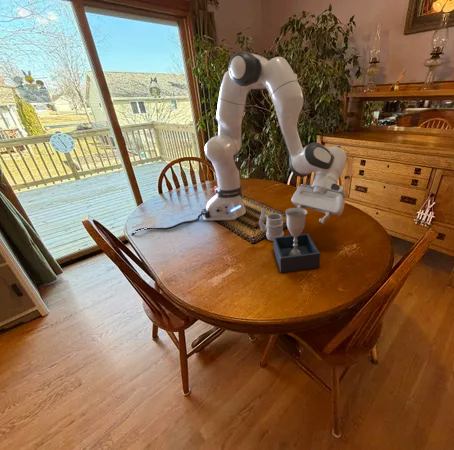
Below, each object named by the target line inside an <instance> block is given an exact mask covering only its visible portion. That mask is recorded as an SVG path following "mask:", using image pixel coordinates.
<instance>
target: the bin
mask: <svg viewBox="0 0 454 450" xmlns="http://www.w3.org/2000/svg"><path fill="white" fill-rule="evenodd" d="M293 240H294V237H293V236H292V235H291V234H290V235H284V236H282V237H273V241H272V242H273V253H274V255H275V259H276V262H277V266H278V269H279V271H280V273H289V272H296V271H303V270H310V269H319V268H320V259H321V252H320V250H319V249H318V247H317V246H316V244H315V242H314V241H313V239H312V238H311V236H310V233H301V234H300V236H298V237H297V240H298V241H297V244H298V246H297V249H298V250H299V251H300V253H301V255H293V256H288V255H289V253H290V251H291V250H292V249H294V246H293V244H294V241H293Z"/></svg>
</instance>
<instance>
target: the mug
mask: <svg viewBox="0 0 454 450" xmlns="http://www.w3.org/2000/svg"><path fill="white" fill-rule="evenodd" d="M260 210H261V212H260V216H259V220H258V224H259V228H260V230H261V231H262V232H264V231H265V230H266V232H265V236H266V239H267V240H268V241H271V242H274V241H273V237H282V236H285V232H284V221H283V215H282V214H280V213H276V212H272V213H269V214H267V213H266V209H264V208H263V207H262V208H261V209H260ZM265 218H266V222H264V219H265Z"/></svg>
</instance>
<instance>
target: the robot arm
mask: <svg viewBox="0 0 454 450" xmlns="http://www.w3.org/2000/svg"><path fill="white" fill-rule="evenodd" d="M251 90H253V91H254V92H255V91H265V90H267V92H268V94H269V97H270V100H271V102H272V104H273V107H274V110H275V113H276V117H277V121H278V126H279V130H280V133H281V136H282V139H283V142H284V145H285V148H286V151H287V153H288V158H289V159H288V163H289V164H288V165H289V169H290V171H291V173H292V174H294V175H295V176H296V177H298V178H306V177H307V176H309V175H310V174H312V173H314V174H315V176H314V178H313V181H312V182H311V184H306V183H302V184H299V185H298V186H297V187H296V190H295V191H294V193H293V195H292V197H291V199H290V200H291V203H292V204H293V206H296V208H302V209H309V210H312V211H316V212H320V213H323V214H325V215H324V216H323V217H319V220H318V224H320V225H324V224H325V222H326V221H327V220H328V219H330V218H331V216H335V217H340V216H341V215H342V214H343V212H344V209H345V207H346V206H345V205H346V201H345V199H346V198H347V193H346V191H345V188H344V187H343V186H342V185H340V184H339V183H338V182H339V179H340V177H341V176H342V174H343V172H344V169H345V165H346V163H347V153H346V152H345V150H344V149H343V148H341V147H340V146H336V145H332V146H328V145H327V146H326V145H323V144H322V143H320V142H317V141H316V142H315V141H313V142H311V143H309V144H307V145H306V146H305V147H303V144H302V141H301V138H300V135H299V131H298V121H299V118H300V115H301V112H302V109H303V106H304V103H305V102H304V100H305V99H304V94H303V90H302V87H301V86H300V83H299V80H298V78H297V76H296V74H295V72H294V70H293V69H292V67H291V65H290V64H289V62H288V61H287V59H285V58H284V57H281V56H275V57H272V58H271V59H268V58H265V57H264V56H262V55H261V54H258V53H257V54H256V53H251V52H249V51H247V50H246V51H245V50H240V51H236V52H235V53H233V55H232V56H231V57H230V60H229V63H228V70H227V71H225V73H224V75H223V78H222V80H221V84H220V88H219V93H218V101H217V109H216V114H215V118H216V121H217V125H218V132H217V135H215V136H212V137H211V138H210V139H209V140H207V142H206V143H205V145H204V153H205V154H204V155H205V156H206V159H207V160H209V161H210V162H211V164H212V166H213V168H214V172H215V176H216V182H217V185H215V186H214V187H213V190H214V196H212V197H211V198H210V199H209V200H208V201H207V203H206V205H205V206H206V207H205V208H202V209H201V213H199V214H198V216H197V218H195V219H193V220H184V221H181V222H179V223H177V224H174V225H171V226H167V227H161V228H147V227H146V228H147V229H144V228H145V227H141V228H137V229H135V230H134V231H138V230H140V231H142V230H141V229H144V230H143V231H146V230H147V231H148V230H160V231H161V230H162V231H167V230H171V229H174V228H177V227H180V226H181V225H183V224H189V223H193V222H197V221H199V220H200V217H202V219H203V220H204V221H210V222H211V221H235V220H236V219H238V218H239V217H242V216H244V215H245V214H246V213H247V209H246V207H245V204H244V199H243V188H242V185H241V177H240V176H241V175H240V170H239V169H238V167H237V165H236V162H235V157H234V156H236V155H237V154H238V153H239V152H240V150H241V148H242V145H243V142H242V123H243V117H244V112H245V107H246V101H247V96H248V93H249V91H251ZM138 232H139V231H138ZM135 234H137V232H135V233H133V232H132V233H131V234H130V236H134V235H135Z"/></svg>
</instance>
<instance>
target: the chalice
mask: <svg viewBox="0 0 454 450" xmlns="http://www.w3.org/2000/svg"><path fill="white" fill-rule="evenodd" d="M284 213H285V215H286V226H287V230H288V231H289V233H290V235H292V236H293V237H294V240H293V241H294V244H293V246H294V249H292V250H291V251H290V253H289V255H288V256H293V255H301V253H300V251H299V250H298V249H297V246H298V244H297V241H298V240H297V237H298V236H300V234H303V233H302V232H303V231H304V230H305V226H306V216H307V214H308V210H306V208H297V207H289V208H287V209H286V210H284Z"/></svg>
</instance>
